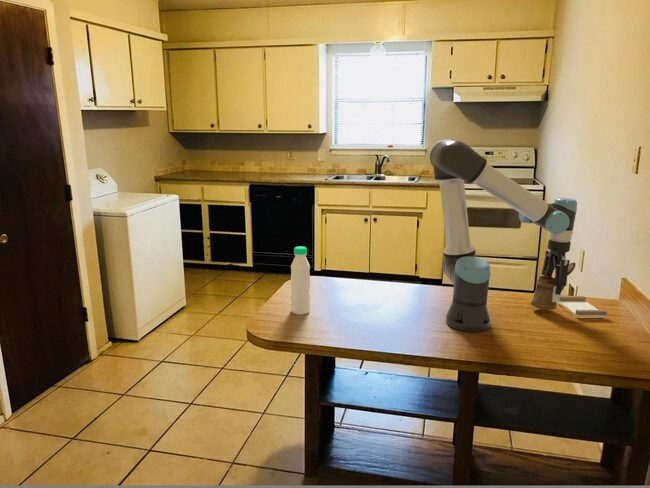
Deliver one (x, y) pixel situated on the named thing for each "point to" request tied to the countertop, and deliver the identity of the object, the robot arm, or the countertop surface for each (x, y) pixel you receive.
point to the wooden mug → (547, 291)
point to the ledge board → (581, 307)
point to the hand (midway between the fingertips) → (550, 298)
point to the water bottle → (300, 282)
